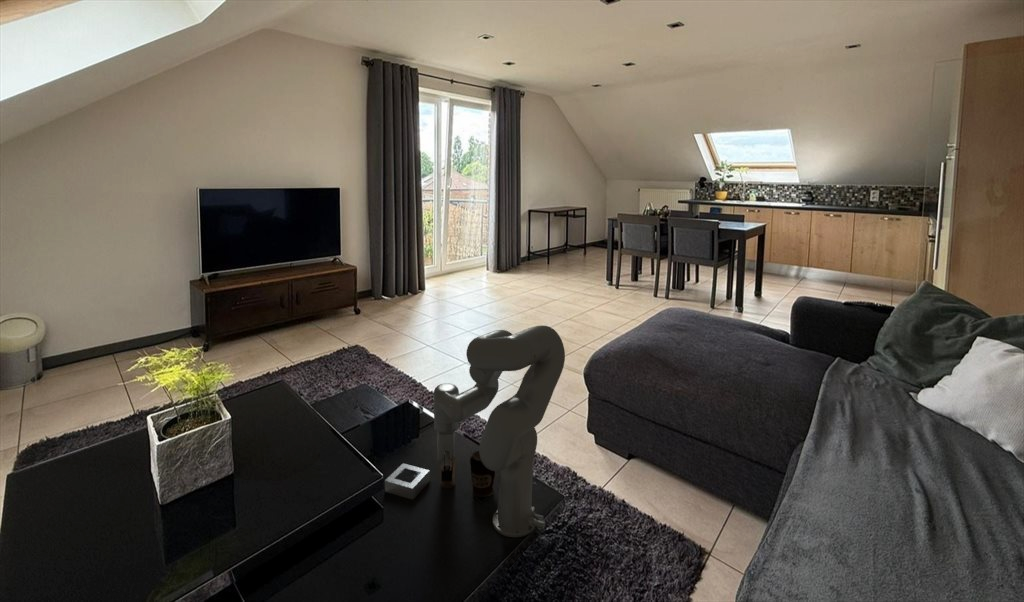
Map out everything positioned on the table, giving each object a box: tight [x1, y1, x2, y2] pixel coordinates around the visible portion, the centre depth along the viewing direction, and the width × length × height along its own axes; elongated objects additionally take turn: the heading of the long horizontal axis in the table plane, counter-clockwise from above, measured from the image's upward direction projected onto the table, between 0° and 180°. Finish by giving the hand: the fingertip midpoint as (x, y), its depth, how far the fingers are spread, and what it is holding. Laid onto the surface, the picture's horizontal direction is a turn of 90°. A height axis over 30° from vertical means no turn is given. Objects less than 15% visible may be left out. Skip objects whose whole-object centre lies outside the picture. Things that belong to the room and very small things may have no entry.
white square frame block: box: [384, 463, 431, 501], centre depth 155 cm, size 10×10×4 cm
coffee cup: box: [469, 450, 496, 498], centre depth 152 cm, size 9×8×13 cm
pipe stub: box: [439, 456, 456, 489], centre depth 156 cm, size 5×5×9 cm
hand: (446, 471), depth 156 cm, fingers open, 9 cm apart
